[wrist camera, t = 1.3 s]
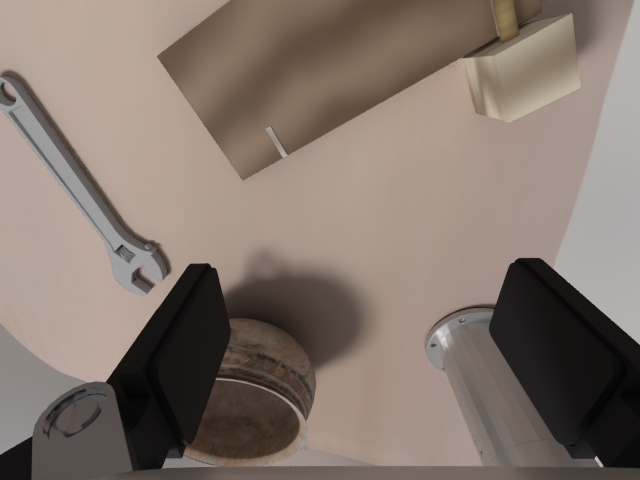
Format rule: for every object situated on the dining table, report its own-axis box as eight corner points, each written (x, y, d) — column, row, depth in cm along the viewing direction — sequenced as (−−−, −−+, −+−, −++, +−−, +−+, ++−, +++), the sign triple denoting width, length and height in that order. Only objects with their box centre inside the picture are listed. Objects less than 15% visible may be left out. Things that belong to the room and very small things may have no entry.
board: (526, 15, 25) (542, 11, 23) (247, 174, 32) (242, 180, 30) (492, -185, 19) (509, -211, 18) (167, 57, 26) (156, 56, 25)
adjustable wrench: (-6, 80, 28) (-25, 81, 27) (54, 62, 27) (38, 61, 26) (134, 289, 40) (126, 297, 38) (178, 280, 39) (172, 288, 37)
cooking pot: (155, 282, 39) (91, 362, 28) (298, 263, 37) (288, 342, 26) (218, 399, 51) (190, 486, 40) (329, 389, 49) (329, 477, 38)
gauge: (531, 84, 27) (580, 87, 22) (475, 112, 28) (509, 122, 23) (509, -38, 23) (563, -70, 18) (445, 1, 24) (478, -18, 19)
